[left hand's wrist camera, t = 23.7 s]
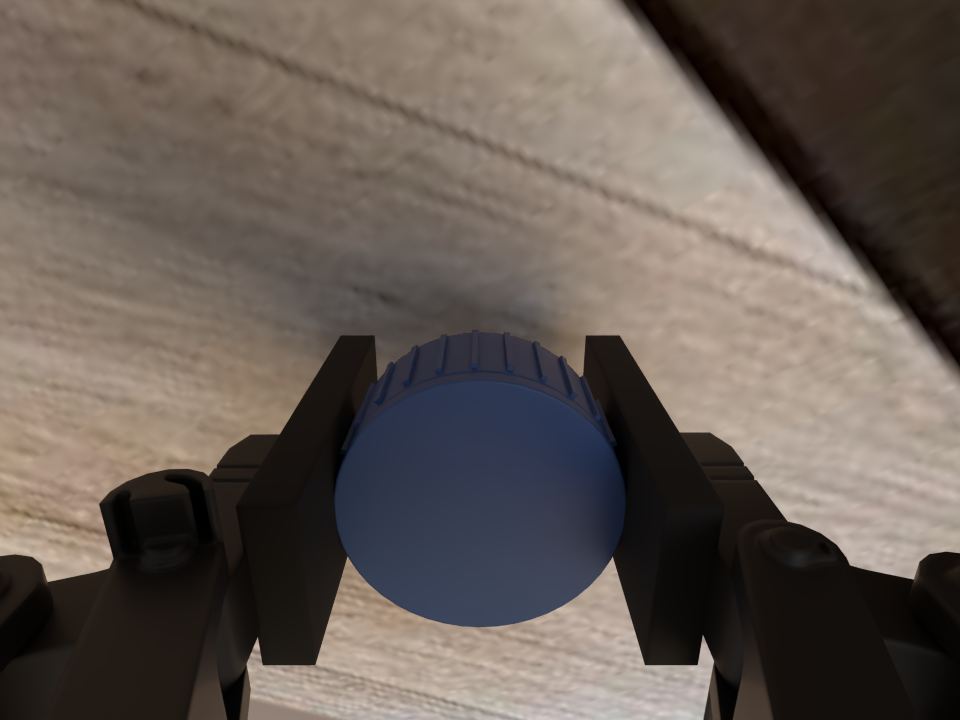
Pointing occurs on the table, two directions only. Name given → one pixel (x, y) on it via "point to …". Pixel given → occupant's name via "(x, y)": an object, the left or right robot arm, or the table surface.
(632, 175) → the table surface
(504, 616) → the lid
